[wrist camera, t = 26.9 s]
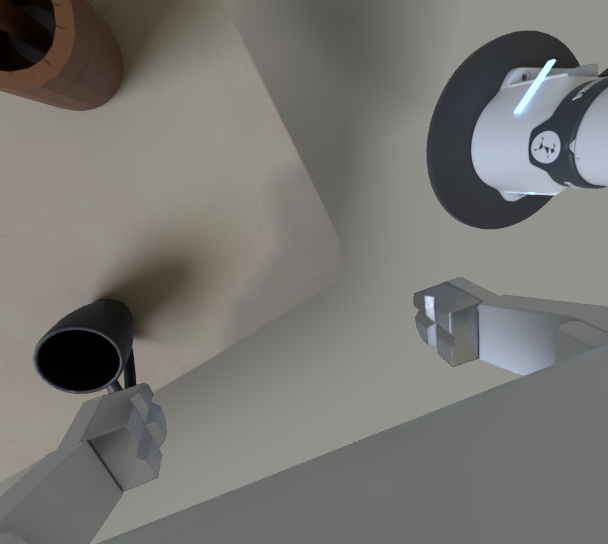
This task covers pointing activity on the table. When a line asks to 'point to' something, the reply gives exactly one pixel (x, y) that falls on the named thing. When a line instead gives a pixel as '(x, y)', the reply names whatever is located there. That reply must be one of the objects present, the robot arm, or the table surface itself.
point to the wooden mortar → (66, 60)
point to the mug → (88, 349)
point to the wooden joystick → (28, 29)
